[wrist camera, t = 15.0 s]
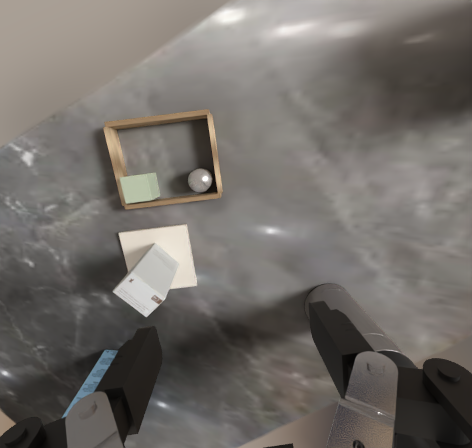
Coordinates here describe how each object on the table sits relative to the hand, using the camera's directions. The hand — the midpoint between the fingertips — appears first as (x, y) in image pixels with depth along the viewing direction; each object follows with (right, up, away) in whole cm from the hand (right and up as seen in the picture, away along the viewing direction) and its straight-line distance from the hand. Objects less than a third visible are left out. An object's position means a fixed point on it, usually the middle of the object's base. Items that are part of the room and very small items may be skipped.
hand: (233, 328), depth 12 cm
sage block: (-15, +12, +29) cm, 35 cm away
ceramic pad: (-14, -1, +32) cm, 35 cm away
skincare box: (-14, -1, +32) cm, 34 cm away
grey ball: (-6, +13, +29) cm, 32 cm away
